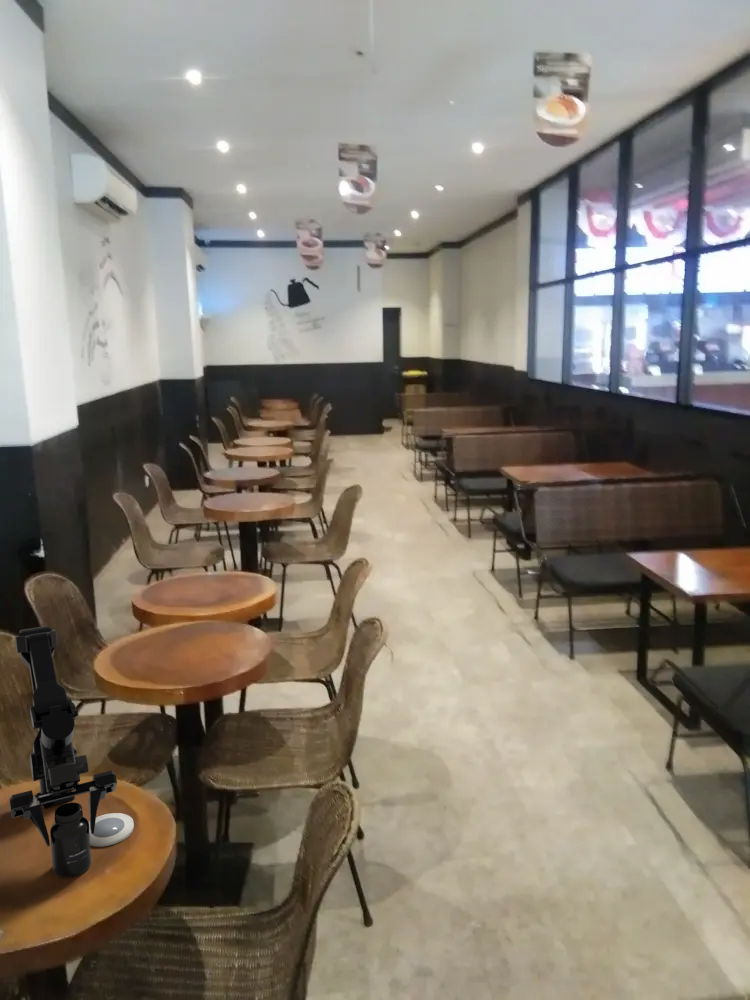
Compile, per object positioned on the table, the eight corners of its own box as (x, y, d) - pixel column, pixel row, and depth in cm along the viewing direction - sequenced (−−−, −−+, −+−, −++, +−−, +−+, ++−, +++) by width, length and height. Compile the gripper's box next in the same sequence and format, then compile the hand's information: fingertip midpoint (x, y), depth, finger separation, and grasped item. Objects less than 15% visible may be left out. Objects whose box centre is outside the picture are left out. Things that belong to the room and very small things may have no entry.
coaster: (75, 828, 158) (74, 824, 158) (123, 810, 164) (123, 806, 164) (91, 853, 151) (90, 849, 150) (141, 833, 156) (141, 829, 156)
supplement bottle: (79, 881, 143) (73, 822, 140) (45, 876, 144) (39, 818, 142) (99, 857, 149) (94, 801, 147) (67, 853, 151) (61, 797, 148)
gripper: (4, 756, 141) (15, 844, 134) (111, 732, 150) (126, 813, 142) (6, 775, 150) (16, 859, 142) (107, 751, 158) (121, 829, 151)
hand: (71, 839), depth 144 cm, fingers open, 7 cm apart
